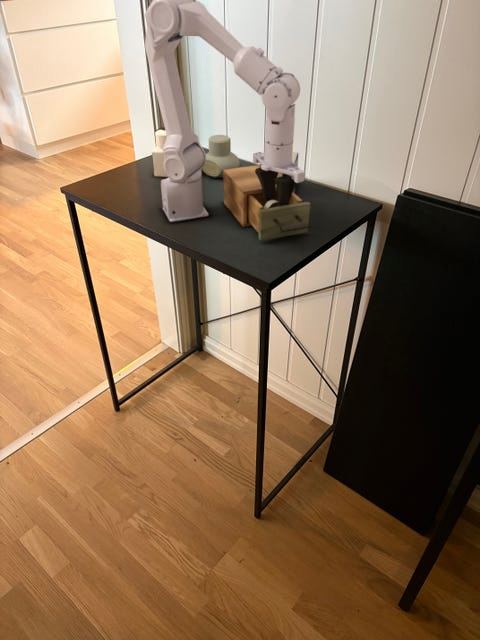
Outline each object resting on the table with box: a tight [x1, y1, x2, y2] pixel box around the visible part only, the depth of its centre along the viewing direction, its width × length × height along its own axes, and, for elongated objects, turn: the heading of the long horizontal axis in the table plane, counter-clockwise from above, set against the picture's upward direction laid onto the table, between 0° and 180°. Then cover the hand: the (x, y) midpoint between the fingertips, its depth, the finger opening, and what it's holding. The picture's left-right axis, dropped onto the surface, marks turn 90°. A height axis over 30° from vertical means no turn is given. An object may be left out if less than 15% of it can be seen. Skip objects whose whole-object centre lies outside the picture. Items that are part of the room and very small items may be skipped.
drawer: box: [247, 190, 311, 242], centre depth 108 cm, size 17×11×7 cm, turn 21°
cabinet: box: [222, 164, 296, 228], centre depth 117 cm, size 14×13×9 cm
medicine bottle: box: [151, 126, 169, 178], centre depth 135 cm, size 7×7×12 cm
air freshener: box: [201, 134, 241, 179], centre depth 135 cm, size 11×8×10 cm
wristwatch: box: [263, 200, 278, 209], centre depth 109 cm, size 3×5×5 cm, turn 129°
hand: (276, 203), depth 108 cm, fingers open, 4 cm apart
